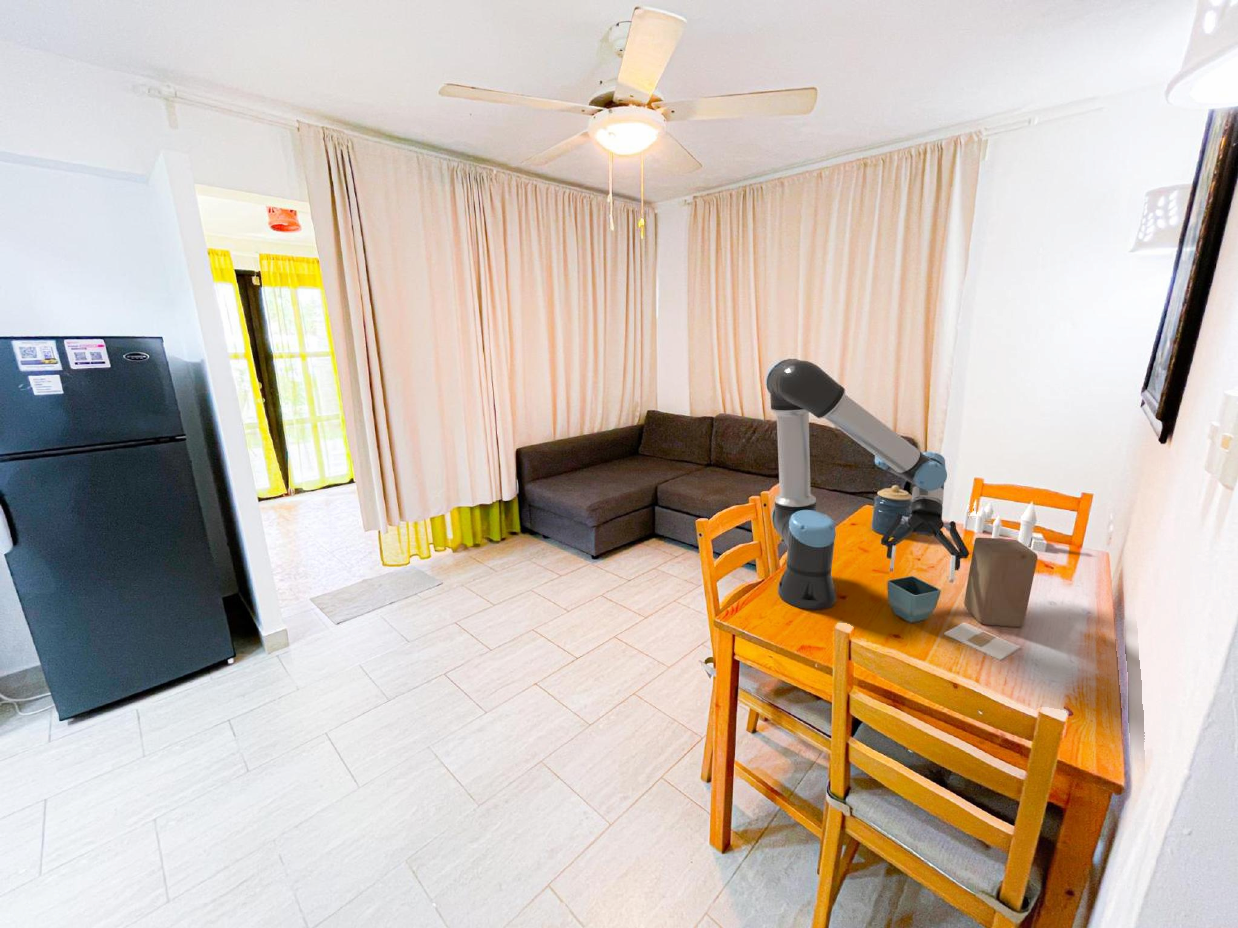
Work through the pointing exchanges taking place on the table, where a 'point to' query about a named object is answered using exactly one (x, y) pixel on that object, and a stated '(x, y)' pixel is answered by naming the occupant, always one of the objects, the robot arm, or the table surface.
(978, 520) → the toy castle
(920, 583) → the flower pot
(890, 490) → the canister
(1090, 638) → the table surface
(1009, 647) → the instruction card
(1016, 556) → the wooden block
